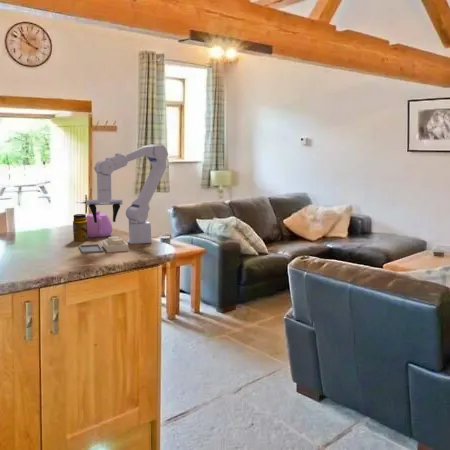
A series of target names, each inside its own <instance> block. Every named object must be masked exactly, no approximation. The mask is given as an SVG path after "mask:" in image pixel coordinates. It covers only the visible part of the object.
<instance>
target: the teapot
mask: <svg viewBox="0 0 450 450" xmlns="http://www.w3.org/2000/svg"><path fill="white" fill-rule="evenodd" d="M96 218H97V223H95V222H94V217H93V214H92V213H88V214H87V215H86V220H87V232H88V238H90V239H95V238H100V237H101V238H108V236H109V237H110V235H111V234H112V232H113V224H112V221H111V219H110V218H109V215H107V214H106V213H104V212H103V213H101V211H100V210H96Z"/></svg>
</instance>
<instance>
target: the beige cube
mask: <svg viewBox="0 0 450 450" xmlns="http://www.w3.org/2000/svg"><path fill="white" fill-rule="evenodd" d="M122 239H123V238H120V239H111V240H110V245H123V240H124V239H123V240H122Z"/></svg>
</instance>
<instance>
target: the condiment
mask: <svg viewBox="0 0 450 450" xmlns="http://www.w3.org/2000/svg"><path fill="white" fill-rule="evenodd" d="M86 217H87V215H86V214H84V213H77V214H73V221H72V230H73V231H72V235H73V242H77V243H78V242H79V243H81V242H87V241H88V238H89V237H88V232H87V220H86Z"/></svg>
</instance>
